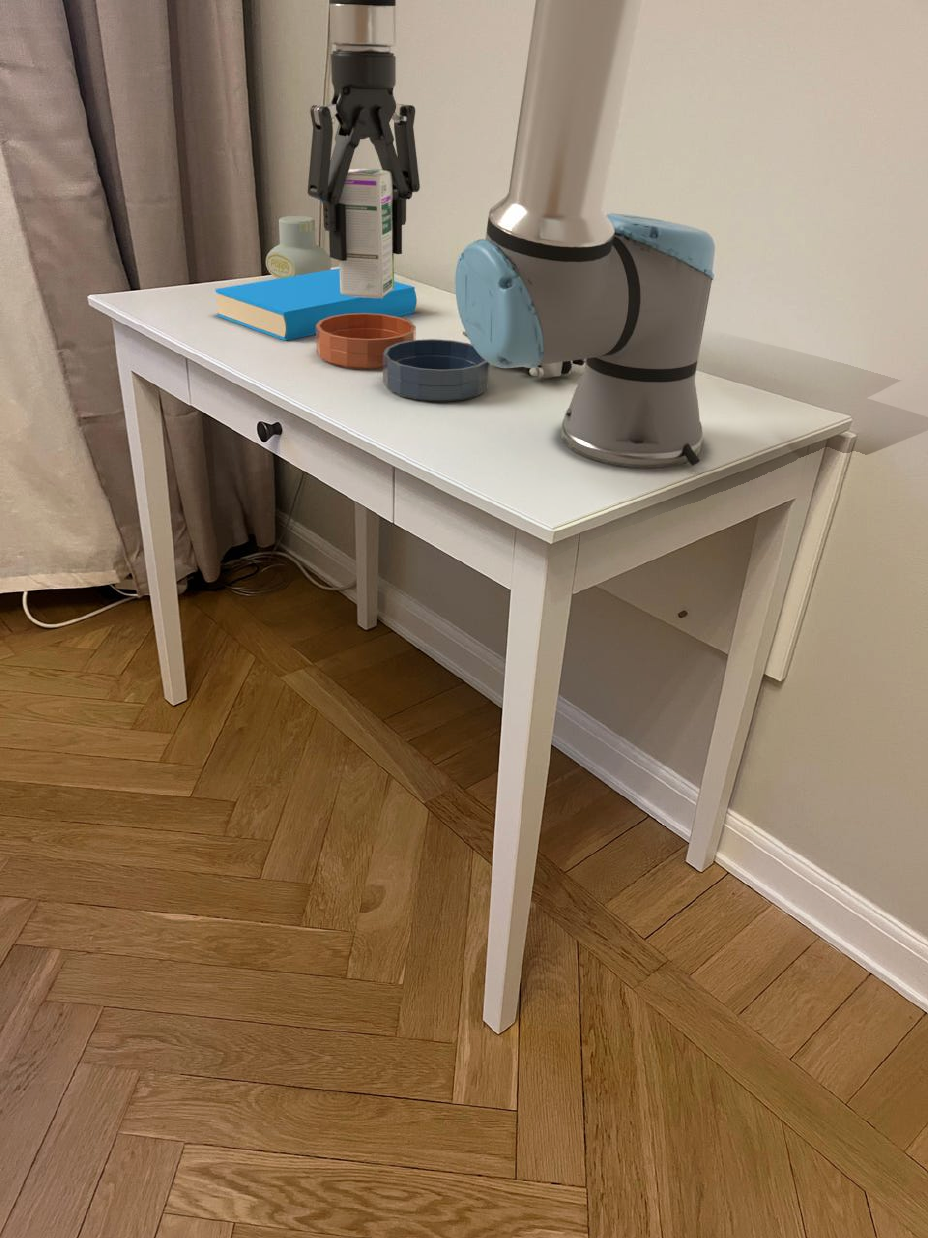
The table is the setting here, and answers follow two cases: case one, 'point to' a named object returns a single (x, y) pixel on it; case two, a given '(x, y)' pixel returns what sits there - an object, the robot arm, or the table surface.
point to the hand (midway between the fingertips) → (366, 255)
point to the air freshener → (297, 249)
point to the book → (304, 303)
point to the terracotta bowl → (360, 338)
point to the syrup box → (368, 234)
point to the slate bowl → (435, 370)
